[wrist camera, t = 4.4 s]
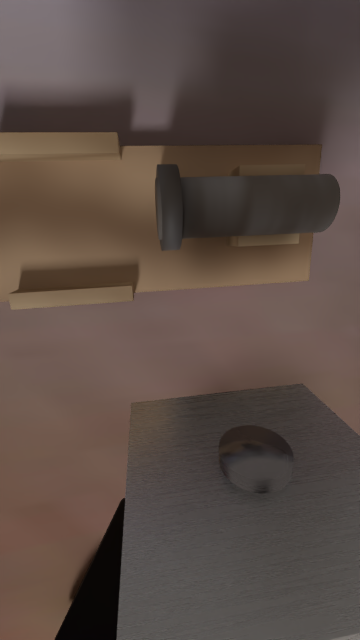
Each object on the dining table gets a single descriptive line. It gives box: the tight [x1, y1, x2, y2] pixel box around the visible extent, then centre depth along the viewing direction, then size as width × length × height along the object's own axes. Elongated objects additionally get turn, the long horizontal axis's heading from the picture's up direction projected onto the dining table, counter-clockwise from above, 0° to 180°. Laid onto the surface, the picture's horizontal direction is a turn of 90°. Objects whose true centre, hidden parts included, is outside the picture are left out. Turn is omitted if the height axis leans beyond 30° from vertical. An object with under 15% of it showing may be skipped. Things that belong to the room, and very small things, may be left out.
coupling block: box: [116, 384, 360, 640], centre depth 6 cm, size 6×5×5 cm
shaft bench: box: [0, 132, 340, 310], centre depth 12 cm, size 8×27×5 cm, turn 92°
